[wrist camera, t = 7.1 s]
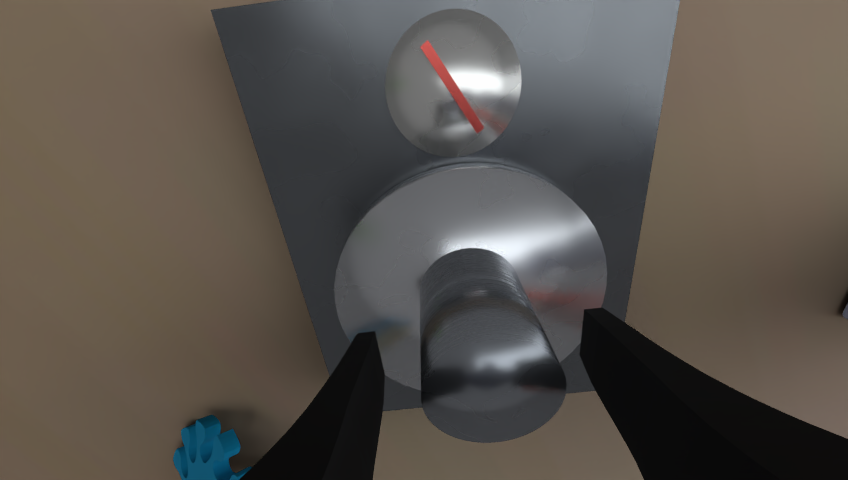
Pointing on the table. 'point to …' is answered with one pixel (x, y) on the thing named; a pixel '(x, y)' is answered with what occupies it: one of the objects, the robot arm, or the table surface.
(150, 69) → the table surface
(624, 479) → the table surface
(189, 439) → the gear
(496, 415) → the metal cylinder
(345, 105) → the scale
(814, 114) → the table surface
